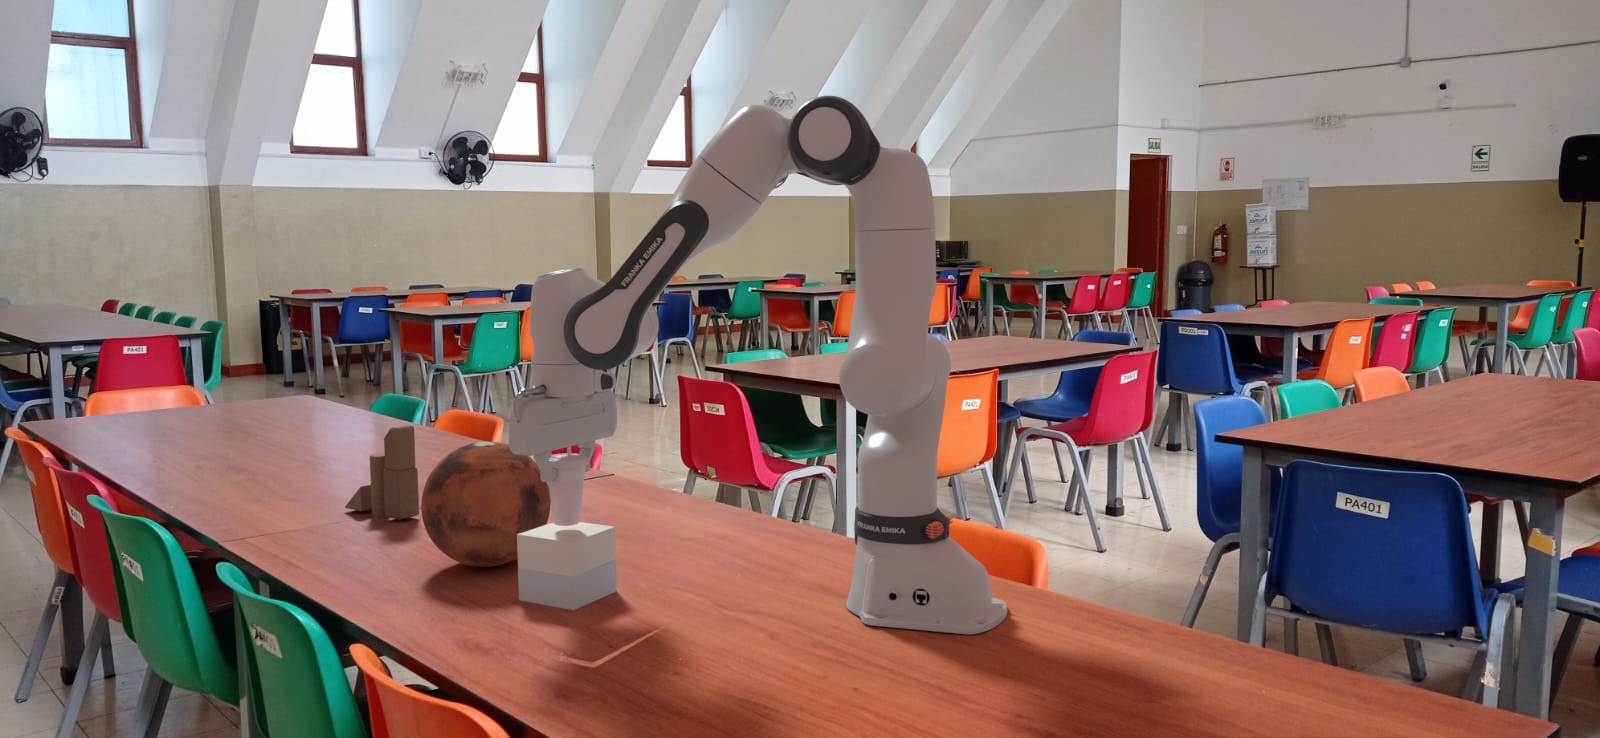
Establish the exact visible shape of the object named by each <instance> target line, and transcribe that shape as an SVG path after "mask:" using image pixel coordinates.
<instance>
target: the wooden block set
mask: <svg viewBox="0 0 1600 738" xmlns="http://www.w3.org/2000/svg"><path fill="white" fill-rule="evenodd" d="M415 440H416V439H415V427H414V426H413V425H410V424H409V425H408V424H404V425H400V426H398V425H397V426H393V427H390V428H389V430H388V431H387V433H386V435H385V436H384V438H383V445H384V447H383V448H384V453H374V454H370V455H369V473H370V476H369V477H370V484H368V485H363V486H360V487H359V488H358V489H357V490H356V491H355V493H354V494H353V496H352V497H351V499H350V500H349V501H348V502H347V503H346V505H345V506H344V509H348V510H354V511H359V512H364V511H369V510H371V515H372V518H373V517H376V518H375V519H380V518H379V517H385V518H389V519H390V518H391V519H394V520H399V521H400V520H404V519H408V518H413V517H417V516H419V515H420V497H419V477H418V475H419V472H418V468H417V467H416V442H415Z"/></svg>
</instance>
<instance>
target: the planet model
mask: <svg viewBox="0 0 1600 738" xmlns="http://www.w3.org/2000/svg"><path fill="white" fill-rule="evenodd" d="M421 494H422V496H421V502H420V503H421V507H420V509H421V519H422V522H423V525H424V528H425V530H426V532H427V534H428V537H429V538H430V540H431V542H432V543H433V544H434V545H435V546H436V547H437V548H438V549H439V550H440V552H441V553H443V554H444V555H446V556H447V557H448V558H450V559H451V560H454V561H456V562H458V563H460V564H463V565H466V566H471V567H476V568H477V567H478V568H491V567H492V568H493V567H497V566H503V565H505V564H509V563H510V562H513V561H515V560H516V559H517V560H518V550H517V534H520V533H523V532H526V531H529V530H532V529H535V528H538V527H541V526H544V525H547V524H548V521H549V518H550V512H551V501H550V494H549V486H548V482H542V481H541V479H540V469H539V467H538V466H537V464H536V462H535V460H534V458H532V456H523V455H515V454H513V453H512V451H511V450H510V448H509V443H508V444H507V443H504V442H503V443H502V442H498V441H479V442H472V443H469V444H466V445H463V446H461V447H459V448H457V449H454V450H453V451H451V452H450V453H449V454H447V455H446V456H444V457H443V458H442V459H441V460H440V461H439V462H438V463H436V466H435V467H433V469H432V470H431V473H430V474H429V475H428V477H427V480H426V482H425V485H424V487H423V491H422V493H421Z"/></svg>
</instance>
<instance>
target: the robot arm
mask: <svg viewBox="0 0 1600 738" xmlns="http://www.w3.org/2000/svg"><path fill="white" fill-rule="evenodd" d="M794 173H795V174H798V175H801V176H803V177H807V178H808V179H812V180H814V181H816V182H818V183H821V184H824V185H827V186H828V185H829V186H845V188H846V189H847V190H848V191H849V193H850V195H851V198H852V203H853V213H854V214H853V215H854V259H855V261H854V262H855V267H854V268H855V287H854V288H855V291H854V301H853V307H852V308H853V309H852V314H851V321H850V327H849V332H848V333H849V334H848V342H847V349H846V353H845V356H844V358H843V361H842V363H841V366H840V370H839V374H838V375H839V377H838V379H839V387H840V390H841V393H842V395H843V397H844V399H845V400H846V401H847V403H849V405H850V406H851V407H852V408H854V409H855V410H857V411H859V412H860V413H864V414H866V415H867V419H866V423H865V425H866V426H865V429H864V434H863V437H862V438H863V439H862V442H861V444H860V446H859V448H858V449H859V450H858V455H857V460H858V461H857V506H856V507H855V509H854V521H853V523H854V525H853V527H854V528H853V529H854V530H853V531H854V543H855V545H856V549H855V550H856V551H855V559H854V566H853V567H854V569H853V575H852V580H851V585H850V588H849V593H848V596H847V599H846V603H845V605H846V608H847V609H848V610H849V612H852V613H853V614H855V615H856V616H858V617H859V618H860V619H861V622H862V623H863V624H865V625H868V626H875V627H887V628H895V629H896V628H897V629H907V630H916V631H918V630H919V631H926V632H927V631H929V632H939V633H948V634H949V633H950V634H952V633H953V634H962V635H976V634H980V633H984V632H988V631H989V630H991V629H994V628H995V627H997V626H998V625H1000V624H1001V623H1002V622H1003V621H1004V620H1005V619H1006V617H1007V615H1008V605H1007V603H1006V602H1005V600H1003V599H999V598H997V597H996V598H995V597H993V596H992V590H991V581H990V578H989V573H988V571H987V568H986V566H984V565H983V564H982V563H981V562H980V561H979V560H977V559H976V558H975V557H974V556H972V554H970V553H969V552H968V551H967V550H966V549H964V547H962V546H961V545H960V544H959V543H958V542H956V541H955V540H954V539H953V538H952V537H950V525H951V524H952V523H953V522H954V521H953V517H954V515H953V514H949V515H948V516H947V515H945V514H944V513H943V512H942V511H941V510H940V509H939V508H938V507H937V505H938V499H937V498H938V497H937V495H938V492H937V491H938V458H939V457H938V455H939V454H938V453H939V445H940V438H941V432H942V426H943V420H944V412H945V406H946V398H947V397H946V396H947V387H948V382H949V378H950V375H951V370H952V360H951V356H950V353H949V351H948V349H947V347H946V346H945V344H944V343H943V342H942V341H941V340H940V339H939V338H937V337H935V336H934V335H932V334H931V333H928V331H929V322H930V315H931V310H932V305H933V301H934V300H933V299H934V295H935V293H936V289H937V261H936V260H937V254H936V253H937V252H936V248H937V247H936V246H937V244H936V217H935V205H934V197H933V196H934V195H933V191H932V190H933V189H932V185H931V179H930V175H929V170H928V166H927V164H926V162H925V160H924V159H923V158H922V157H921V156H920V155H918V154H917V153H916V152H913V151H910V150H908V149H904V148H896V147H894V148H892V147H891V148H890V147H884V146H881V144H880V142H879V140H878V138H877V136H876V135H875V133H874V132H873V130H872V128H871V126H870V124H869V121H868V120H867V118H866V117H865V115H864V114H863V113H862V112H861V111H860V109H859V108H857V106H856V105H854V103H852V102H851V101H849V100H847V99H846V98H844V97H843V98H842V97H839V96H836V95H822V96H818V97H817V96H816V97H814V98H812V99H811V98H810V99H809V100H807V101H806V102H804V103H803V104H802V105H801V106H800V107H799V108H798V109H797V110H796V111H795V113H794V114H793V116H792V117H791V118H789V117H785V116H783V115H782V114H780V113H779V112H778V111H776V110H774V109H773V108H770V107H768V106H765V105H762V104H761V105H759V104H751V105H746V106H744V107H742V108H741V109H740V110H739V111H737V112H736V113H735V114H734V115H733V116H732V117H731V118H730V119H729V120H728V121H727V122H726V123H725V124H724V125H722V127H721V128H720V129H719V130H718V131H717V132H716V133H715V134H714V136H713V137H712V138H711V139H710V140H709V141H708V142H707V144H706V145H705V146H704V147H703V149H702V151H701V152H700V153H699V154H698V155H697V157H696V158H695V159H694V161H693V163H692V164H691V165H690V166H689V168H688V169H687V171H686V172H685V174H684V176H682V179H681V181H680V183H679V184H678V186H677V188H676V189H675V190H674V192H673V195H672V196H671V197H670V199H669V201H668V202H667V204H666V206H665V208H664V209H663V210H662V212H661V214H660V215H659V217H658V218H657V220H656V222H655V224H653V226H652V227H651V228H650V229H649V231H648V232H647V234H645V236H644V238H643V239H642V240H641V241H640V242H639V244H638V245H637V246H636V247H635V248H634V250H633V251H632V252H631V254H630V255H629V256H628V257H627V258H626V259H625V261H624V262H623V264H621V266H620V268H619V269H618V270H617V271H616V272H615V273H614V275H613V276H612V277H611V278H610V280H609V281H607V282H603V281H601V280H600V279H597V278H596V277H594V276H593V275H591V274H590V273H589V272H588V271H587V270H586V269H583V268H578V267H576V268H567V269H561V270H555V271H550V272H546V273H543V274H541V275H539V276H538V277H537V278H536V280H534V282H533V285H532V288H531V295H530V296H531V297H530V306H529V307H530V308H529V310H530V311H529V312H530V313H529V316H530V317H529V325H530V327H529V329H530V335H531V339H532V343H533V352H532V356H531V360H530V362H531V363H530V364H531V365H530V366H531V368H530V369H531V387H529V388H528V387H524V388H521V389H520V390H519V391H518V393H517V394H516V395H515V397H514V398H513V400H512V407H511V410H510V415H509V416H510V417H509V426H508V445H509V448H510V450H511V451H512V453H513V454H515V455H523V456H529V457H532V456H533V460H534V461H535V462H536V464H537V466H538V467H539V469H540V479H541V481H542V482H547V483H548V482H552V481H555V480H556V479H557V476H556V474H557V469H554V468H552V466H551V463H550V461H549V459H550V458H552V455H553V453H552V451H557V450H559V449H560V450H561V449H564V448H567V447H569V446H571V447H572V446H577V447H578V448H580V449H579V453H578V454H581V455H585V456H587V457H588V464H587V465H586V468H585V473H586V472H587V473H588V472H589V471H591V460H592V457H593V454H594V452H595V449H596V441H597V440H602V439H606V438H609V437H610V438H611V437H613V436H614V434H615V432H616V431H617V430H616V429H617V424H618V421H617V420H618V411H617V405H618V404H617V398H616V397H617V396H616V394H615V392H614V391H613V390H615V389H616V388H617V377H616V375H614V374H612V373H609V372H606V371H607V370H611V369H614V368H616V367H619V366H620V365H622V364H623V363H624V362H626V361H628V360H631V359H633V358H635V357H638V356H640V355H642V354H644V353H645V352H646V351H647V350H649V349H650V348H651V347H652V346H653V345H654V343H655V342H656V340H657V337H658V335H659V333H660V318H659V315H658V312H657V310H656V308H655V307H654V305H653V304H654V303H655V301H656V300H657V299H658V297H659V296H660V295H661V294H662V292H663V291H664V290H665V289H666V288H667V287H668V285H669V283H671V281H672V280H673V279H674V277H676V275H677V273H678V272H679V271H680V270H681V269H682V268H683V267H684V266H685V265H686V264H687V263H688V262H689V261H691V259H693V258H695V257H696V256H697V255H699V254H700V253H702V252H704V251H705V250H708V249H709V248H712V247H714V246H716V245H718V244H720V243H721V244H722V242H725V241H727V240H729V239H730V238H731V237H733V236H734V235H735V234H736V233H737V232H738V231H740V229H741V228H743V227H744V225H746V223H748V221H750V220H751V218H752V217H753V216H754V215H755V214H756V212H758V210H759V209H760V207H761V206H762V205H763V204H764V202H766V200H767V198H768V197H769V195H770V194H771V193H772V192H773V190H774V189H775V187H776V186H777V185H778V184H779V183H780V182H781V181H782V180H783V179H785V177H787V176H789V175H791V174H794Z"/></svg>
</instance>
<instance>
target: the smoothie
mask: <svg viewBox="0 0 1600 738" xmlns="http://www.w3.org/2000/svg"><path fill="white" fill-rule="evenodd" d="M566 448H567V450H566V451H567V452H566V453H556V454H552V458H550V459H549V461H550V463H551V466H552V468H554V469H557V474H556V476H557V479H556V480H555V481H552V482H547V483H548V487H549V494H550V501H551V505H550V509H551V513H552V514H551V515H552V521H553V522H552V523H554V524H555V525H559V526H571V525H576V524H578V523H579V522H581V521H580V520H581V512H582V511H581V510H582V501H583V494H584V484H585V477H586V476H585V475H586V472H585V468H586V465H587V464H588V457H587V456H585V455H581V454H579V453H572V446H569V447H566Z"/></svg>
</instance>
